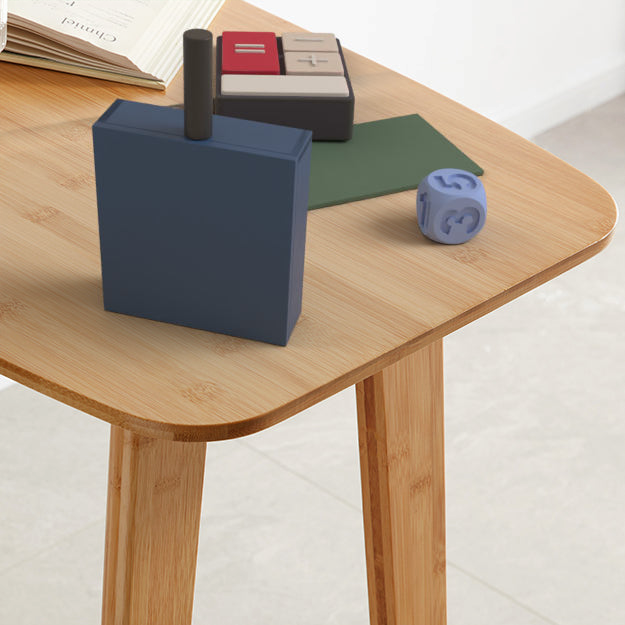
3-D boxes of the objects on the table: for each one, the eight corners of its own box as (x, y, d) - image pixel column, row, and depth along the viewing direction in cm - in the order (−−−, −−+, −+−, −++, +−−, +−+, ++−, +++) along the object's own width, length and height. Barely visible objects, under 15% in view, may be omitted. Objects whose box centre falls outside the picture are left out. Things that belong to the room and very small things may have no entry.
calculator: (339, 28, 101) (356, 90, 89) (337, 75, 104) (353, 141, 91) (216, 26, 100) (215, 87, 88) (216, 73, 103) (215, 139, 90)
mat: (197, 233, 80) (197, 228, 80) (147, 164, 87) (147, 160, 87) (483, 174, 89) (484, 170, 89) (416, 117, 96) (417, 113, 96)
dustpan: (285, 346, 70) (301, 58, 59) (103, 310, 72) (84, 24, 61) (301, 312, 73) (318, 31, 62) (126, 277, 75) (111, 0, 64)
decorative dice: (413, 217, 83) (419, 169, 81) (465, 213, 84) (472, 166, 82) (428, 246, 80) (435, 197, 78) (482, 243, 81) (490, 194, 78)
